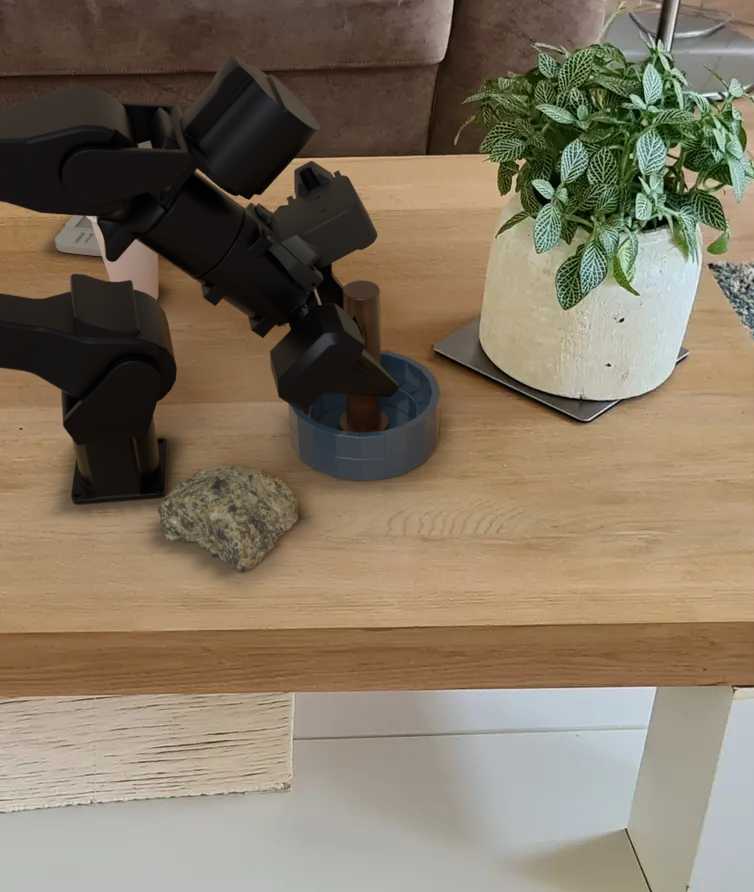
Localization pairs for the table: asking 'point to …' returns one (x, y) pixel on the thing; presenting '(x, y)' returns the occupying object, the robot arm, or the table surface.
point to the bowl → (372, 451)
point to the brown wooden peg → (366, 307)
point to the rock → (230, 513)
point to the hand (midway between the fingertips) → (382, 360)
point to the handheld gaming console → (82, 232)
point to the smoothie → (131, 264)
